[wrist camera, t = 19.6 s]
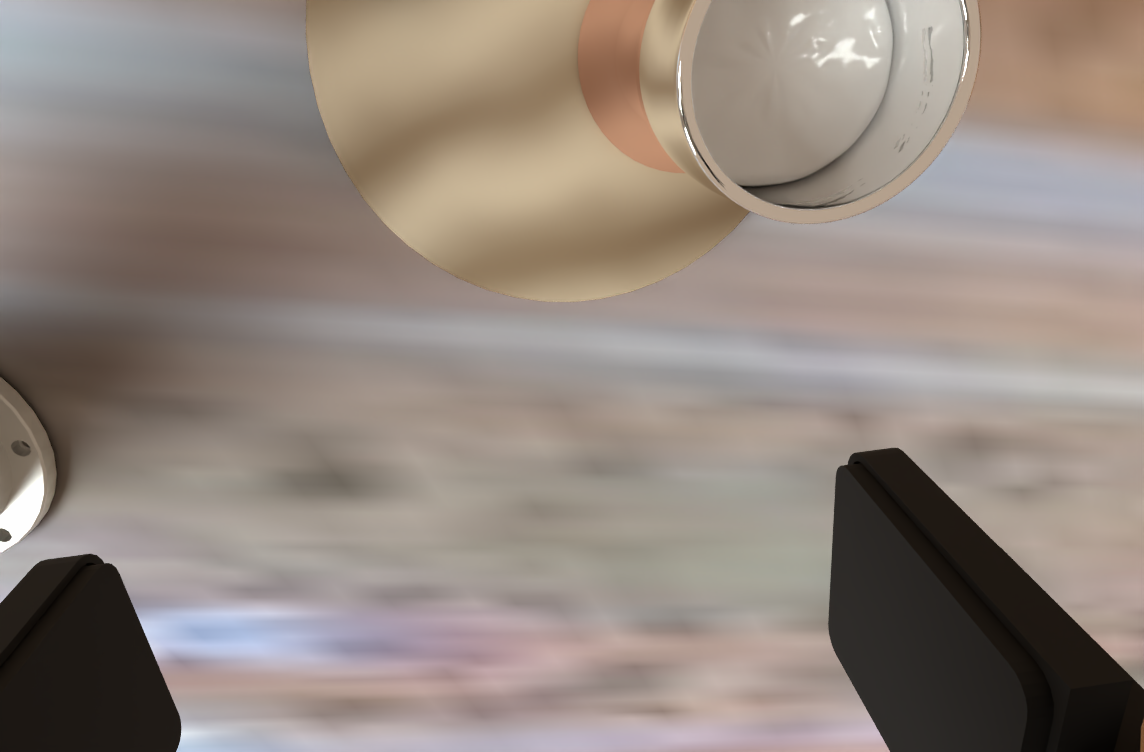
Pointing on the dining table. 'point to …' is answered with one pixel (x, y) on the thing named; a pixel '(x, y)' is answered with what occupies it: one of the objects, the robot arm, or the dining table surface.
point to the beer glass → (801, 95)
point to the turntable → (507, 144)
